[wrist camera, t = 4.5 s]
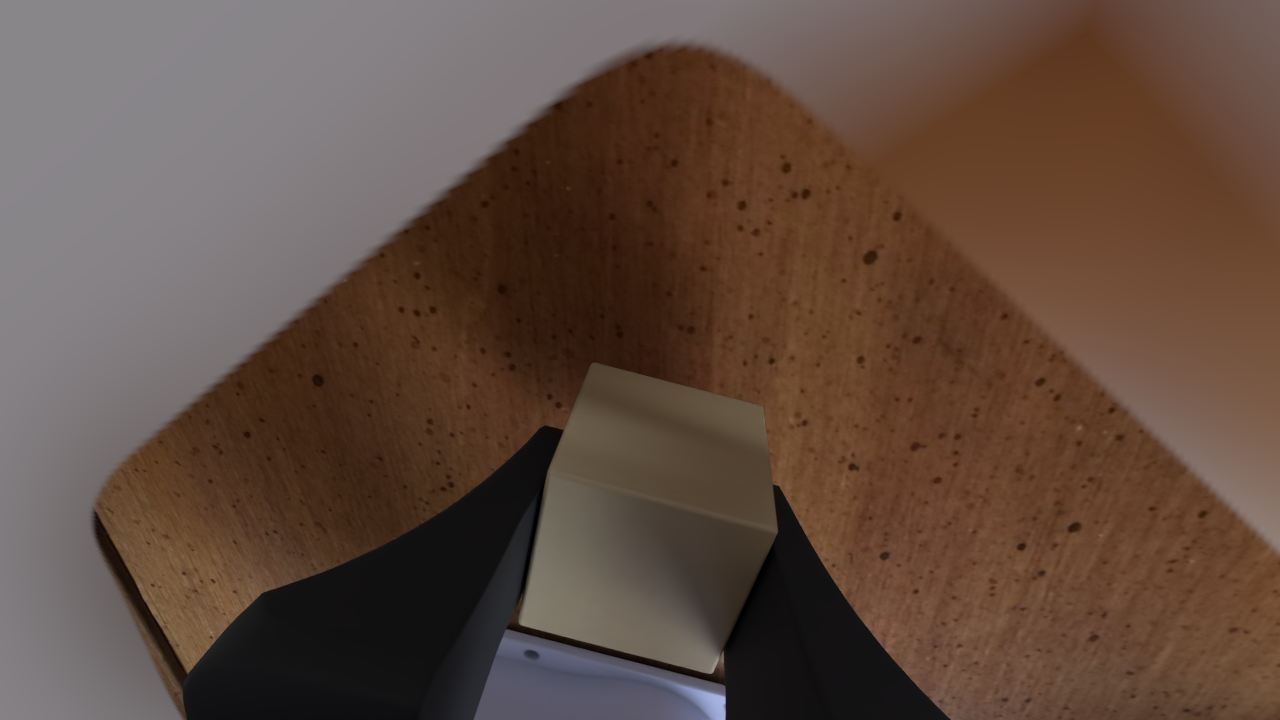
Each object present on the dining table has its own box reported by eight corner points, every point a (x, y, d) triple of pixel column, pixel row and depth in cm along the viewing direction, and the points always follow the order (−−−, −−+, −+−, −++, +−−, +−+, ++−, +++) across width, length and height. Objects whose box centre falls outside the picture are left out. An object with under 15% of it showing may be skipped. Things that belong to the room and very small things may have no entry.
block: (562, 493, 15) (515, 626, 12) (591, 360, 14) (546, 471, 10) (714, 532, 15) (713, 677, 12) (764, 404, 14) (780, 532, 10)
